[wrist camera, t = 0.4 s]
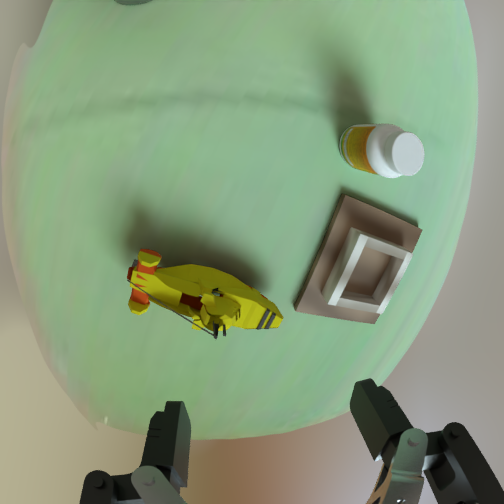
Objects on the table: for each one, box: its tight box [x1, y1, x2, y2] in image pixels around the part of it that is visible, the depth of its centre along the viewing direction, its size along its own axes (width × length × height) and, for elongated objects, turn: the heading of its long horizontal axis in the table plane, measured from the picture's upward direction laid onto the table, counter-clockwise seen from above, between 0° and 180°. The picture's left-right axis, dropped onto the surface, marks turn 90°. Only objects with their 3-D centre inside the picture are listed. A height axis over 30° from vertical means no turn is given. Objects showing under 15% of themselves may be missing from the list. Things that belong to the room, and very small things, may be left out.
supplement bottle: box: [339, 124, 424, 178], centre depth 24 cm, size 5×5×10 cm
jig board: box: [294, 194, 422, 324], centre depth 33 cm, size 16×14×4 cm
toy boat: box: [127, 249, 283, 339], centre depth 28 cm, size 6×18×10 cm, turn 68°
